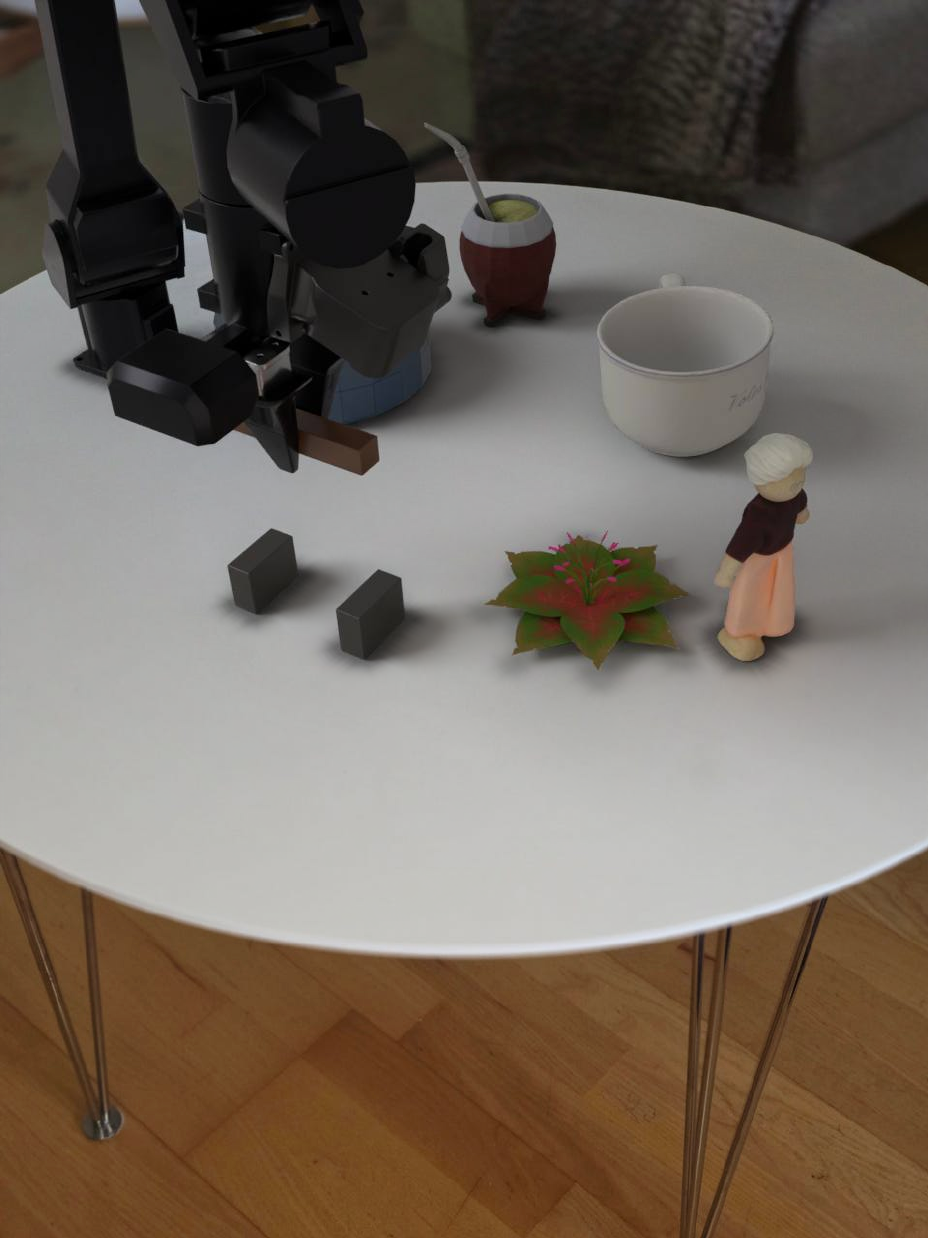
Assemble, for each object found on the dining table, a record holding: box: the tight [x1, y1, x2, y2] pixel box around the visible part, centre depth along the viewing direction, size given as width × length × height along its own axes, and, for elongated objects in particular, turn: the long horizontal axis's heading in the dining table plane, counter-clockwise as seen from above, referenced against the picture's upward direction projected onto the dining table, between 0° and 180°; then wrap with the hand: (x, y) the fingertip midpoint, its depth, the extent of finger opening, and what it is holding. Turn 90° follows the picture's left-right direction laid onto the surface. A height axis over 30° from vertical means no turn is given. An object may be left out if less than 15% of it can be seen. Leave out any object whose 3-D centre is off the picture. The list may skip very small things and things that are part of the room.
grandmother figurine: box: [713, 432, 814, 662], centre depth 71 cm, size 8×4×13 cm, turn 148°
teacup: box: [596, 272, 775, 458], centre depth 89 cm, size 14×11×8 cm
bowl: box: [212, 312, 433, 425], centre depth 95 cm, size 15×15×6 cm
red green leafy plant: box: [483, 530, 692, 672], centre depth 76 cm, size 12×12×5 cm
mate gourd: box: [423, 122, 557, 328], centre depth 98 cm, size 8×8×15 cm
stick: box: [233, 408, 380, 477], centre depth 72 cm, size 10×2×2 cm, turn 57°
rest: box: [226, 527, 406, 660], centre depth 77 cm, size 9×4×3 cm, turn 57°
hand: (299, 460), depth 73 cm, fingers closed on stick, 2 cm apart
